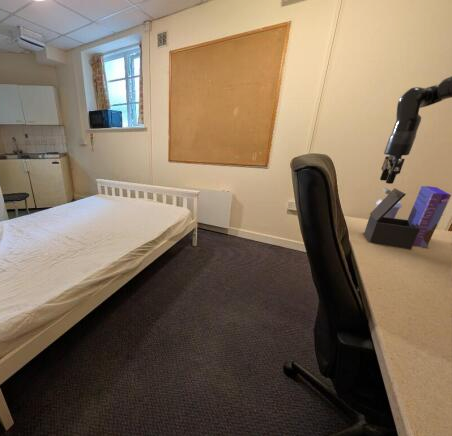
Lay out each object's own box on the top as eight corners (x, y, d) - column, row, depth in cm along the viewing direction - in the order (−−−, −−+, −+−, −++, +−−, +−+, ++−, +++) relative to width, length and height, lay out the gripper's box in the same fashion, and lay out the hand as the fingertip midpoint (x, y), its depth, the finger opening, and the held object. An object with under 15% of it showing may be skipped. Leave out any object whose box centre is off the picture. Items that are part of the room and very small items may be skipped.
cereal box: (426, 247, 96) (451, 194, 88) (410, 244, 99) (433, 192, 90) (416, 234, 109) (437, 187, 101) (402, 232, 112) (421, 185, 103)
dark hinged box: (401, 239, 104) (409, 220, 100) (411, 249, 95) (420, 228, 91) (363, 233, 110) (370, 215, 107) (369, 242, 101) (376, 222, 98)
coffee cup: (397, 231, 113) (408, 203, 108) (382, 232, 112) (392, 204, 106) (377, 224, 122) (387, 198, 117) (363, 225, 120) (372, 199, 115)
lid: (396, 188, 100) (384, 183, 101) (406, 194, 90) (392, 188, 92) (371, 214, 107) (360, 209, 108) (378, 222, 97) (365, 216, 99)
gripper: (420, 143, 83) (403, 185, 89) (406, 142, 95) (392, 180, 100) (393, 143, 87) (379, 183, 92) (382, 142, 98) (370, 178, 104)
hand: (385, 181), depth 96 cm, fingers open, 8 cm apart
